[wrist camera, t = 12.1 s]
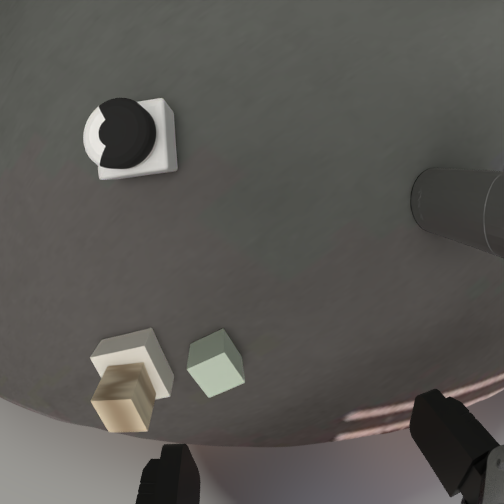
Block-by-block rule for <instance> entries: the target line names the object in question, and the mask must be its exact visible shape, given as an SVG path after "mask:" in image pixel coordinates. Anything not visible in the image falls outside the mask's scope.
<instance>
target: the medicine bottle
mask: <svg viewBox="0 0 504 504" xmlns="http://www.w3.org/2000/svg"><path fill="white" fill-rule="evenodd" d="M83 141H84V147H85V150H86V152H87V154H88V156H89V157H90V159H91V160H92V161H93V162H94V163H96V164H97V165H98V174H99V178H100V179H101V180H109V179H124V178H131V177H137V176H144V175H151V174H159V173H166V172H174V171H177V169H178V165H177V152H176V138H175V123H174V112H173V111H172V110H171V108H170V107H169V106H168V104H167V103H166V102H165V100H164V99H163V98H158V99H152V100H146V101H140V102H135V101H133V100H131V99H127V98H115V99H111V100H108V101H106V102H104V103H103V104H101V105H100V106H98V107H97V108H96V109H95V110H94V111H93V112H92V114H91V115H90V117H89V118H88V120H87V123H86V125H85V129H84V135H83Z"/></svg>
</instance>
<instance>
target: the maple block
mask: <svg viewBox="0 0 504 504" xmlns="http://www.w3.org/2000/svg"><path fill="white" fill-rule="evenodd" d="M155 397H156V392H155V389H154V387H153V385H152V382H151V380H150V378H149V375H148V373H147V370H146V368H145V365H144V363H134V364H124V365H114V366H107V368H106V370H105V372H104V374H103V376H102V378H101V381H100V383H99V385H98V387H97V389H96V391H95V393H94V395H93V397H92V399H91V402H92V404H93V406H94V408H95V409H96V411H97V413H98V415H99V416H100V418H101V420H102V421H103V423H104V425H105V426H106V428H107V430H108V431H109V432H143V431H148V428H149V424H150V419H151V415H152V410H153V406H154V401H155Z"/></svg>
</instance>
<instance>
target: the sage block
mask: <svg viewBox="0 0 504 504" xmlns="http://www.w3.org/2000/svg"><path fill="white" fill-rule="evenodd" d="M187 370H188V372H189V373H190V374H191V376H192V377H193V378H194V380H195V381H196V382H197V383H198V385H199V386H200V387H201V388H202V390H203V391H204V392H205V394H206V395H207V396H208V397H209V398H210V397H212V396H215V395H217V394H219V393H222V392H224V391H227V390H229V389H231V388H234V387H236V386H238V385H240V384H243V383H245V377H244V370H243V363H242V356H241V355H240V353H239V352H238V350H237V349H236V347H235V345H234V344H233V342H232V341H231V339H230V338H229V336H228V335H227V333H226V331H225V330H224V328H223V329H221V330H219V331H217V332H214V333H212V334H210V335H208V336H206V337H204V338H202V339H200V340H198V341H196V342H193V343H191V344H190V349H189V356H188V363H187Z"/></svg>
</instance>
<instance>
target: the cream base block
mask: <svg viewBox="0 0 504 504" xmlns="http://www.w3.org/2000/svg"><path fill="white" fill-rule="evenodd" d="M90 358H91V360H92V362H93V364H94V366H95V368H96V369H97V371H98V373H99V375H100V376H101V378H102V376H103V374H104V372H105V370H106V368H107V366H114V365H124V364H134V363H144V365H145V368H146V370H147V373H148V375H149V378H150V380H151V382H152V385H153V387H154V389H155V392H156V397H155V399H160V398H165V397H170V395H171V390H172V385H173V380H174V374H173V372H172V370H171V368H170V366H169V364H168V362H167V360H166V357H165V355H164V353H163V351H162V349H161V347H160V345H159V342H158V340H157V338H156V336H155V333H154V331H153V329H152V328H149V329H145V330H141V331H136V332H132V333H128V334H124V335H120V336H116V337H112V338H107V339H103V340H101V341H100V343H99V344H98V346H97V347H96V349H95V351H94V352H93V354H92V355H91V357H90Z"/></svg>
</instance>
